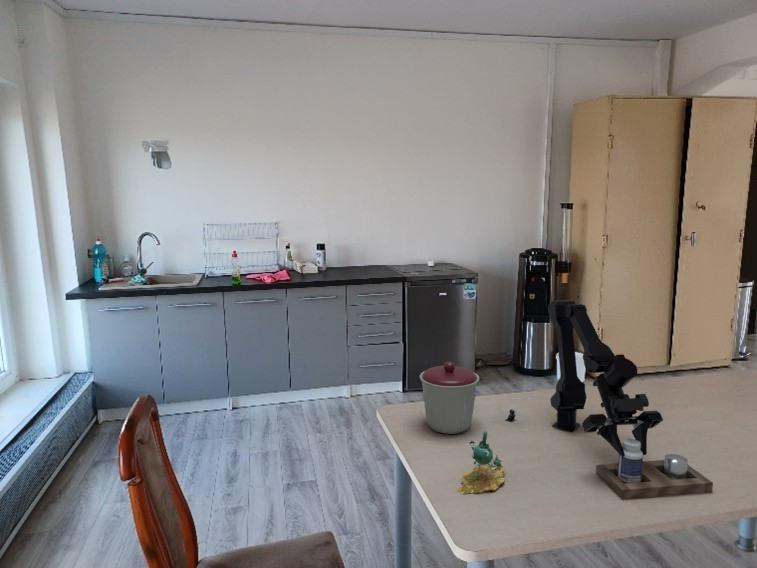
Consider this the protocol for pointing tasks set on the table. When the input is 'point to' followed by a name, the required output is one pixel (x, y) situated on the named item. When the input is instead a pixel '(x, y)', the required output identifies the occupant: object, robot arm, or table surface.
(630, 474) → the pill bottle
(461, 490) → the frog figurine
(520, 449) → the table surface
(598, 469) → the brown holder board
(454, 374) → the canister
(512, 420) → the sculpture
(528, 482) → the table surface
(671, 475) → the steel peg
